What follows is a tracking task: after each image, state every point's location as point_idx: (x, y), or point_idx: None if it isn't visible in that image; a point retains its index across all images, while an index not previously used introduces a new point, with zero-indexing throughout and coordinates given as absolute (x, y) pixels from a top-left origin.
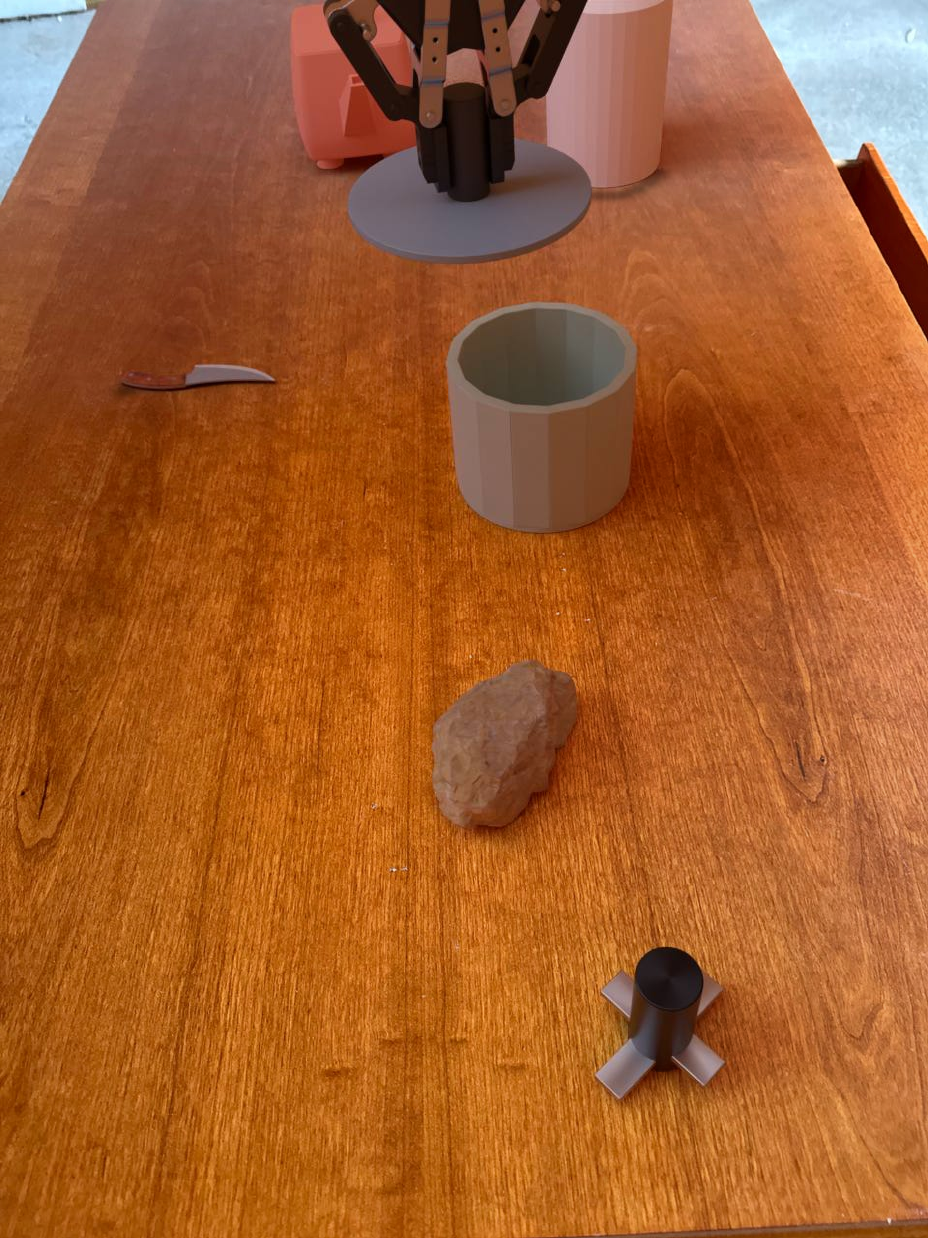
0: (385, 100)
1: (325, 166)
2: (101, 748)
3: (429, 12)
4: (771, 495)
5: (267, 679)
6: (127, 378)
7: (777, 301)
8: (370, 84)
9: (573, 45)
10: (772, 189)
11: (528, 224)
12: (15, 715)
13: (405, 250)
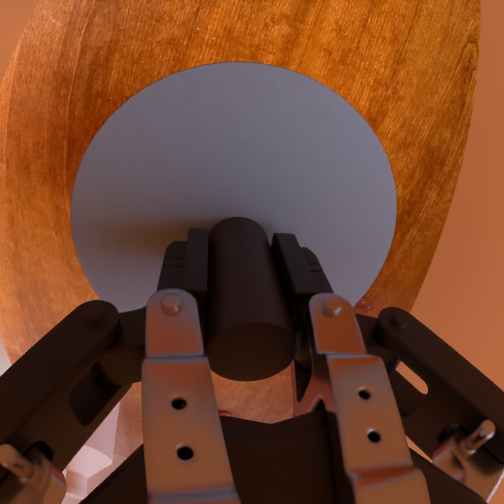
0: (420, 333)
1: (227, 414)
2: (450, 70)
3: (420, 496)
4: (58, 102)
5: (382, 64)
6: (371, 305)
7: (22, 264)
8: (452, 355)
9: (99, 435)
10: (22, 340)
11: (183, 120)
12: (471, 109)
13: (373, 132)
